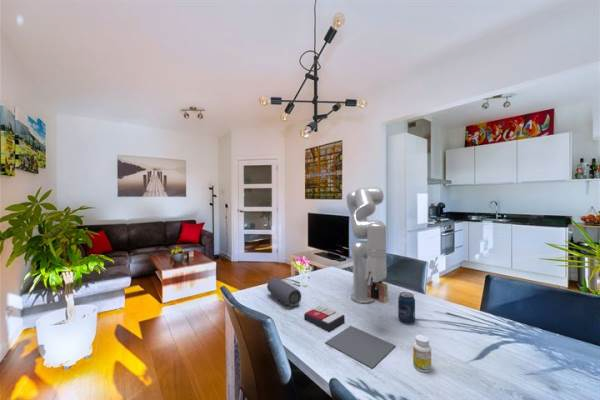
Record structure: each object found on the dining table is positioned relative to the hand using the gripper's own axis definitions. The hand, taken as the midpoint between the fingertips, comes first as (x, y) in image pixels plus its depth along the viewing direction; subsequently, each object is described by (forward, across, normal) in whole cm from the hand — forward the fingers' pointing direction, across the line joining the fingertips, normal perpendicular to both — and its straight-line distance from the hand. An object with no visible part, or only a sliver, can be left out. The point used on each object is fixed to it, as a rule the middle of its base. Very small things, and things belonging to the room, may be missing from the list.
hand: (376, 296), depth 102 cm
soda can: (+15, -17, +5) cm, 23 cm away
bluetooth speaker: (+15, +8, -51) cm, 54 cm away
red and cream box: (+15, +9, -21) cm, 28 cm away
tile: (+1, 0, 0) cm, 1 cm away
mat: (+14, +13, 0) cm, 20 cm away
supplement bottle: (+14, +9, +21) cm, 27 cm away
